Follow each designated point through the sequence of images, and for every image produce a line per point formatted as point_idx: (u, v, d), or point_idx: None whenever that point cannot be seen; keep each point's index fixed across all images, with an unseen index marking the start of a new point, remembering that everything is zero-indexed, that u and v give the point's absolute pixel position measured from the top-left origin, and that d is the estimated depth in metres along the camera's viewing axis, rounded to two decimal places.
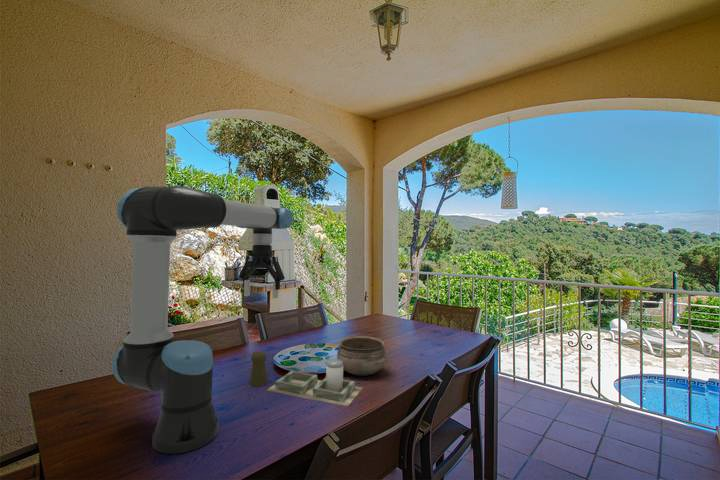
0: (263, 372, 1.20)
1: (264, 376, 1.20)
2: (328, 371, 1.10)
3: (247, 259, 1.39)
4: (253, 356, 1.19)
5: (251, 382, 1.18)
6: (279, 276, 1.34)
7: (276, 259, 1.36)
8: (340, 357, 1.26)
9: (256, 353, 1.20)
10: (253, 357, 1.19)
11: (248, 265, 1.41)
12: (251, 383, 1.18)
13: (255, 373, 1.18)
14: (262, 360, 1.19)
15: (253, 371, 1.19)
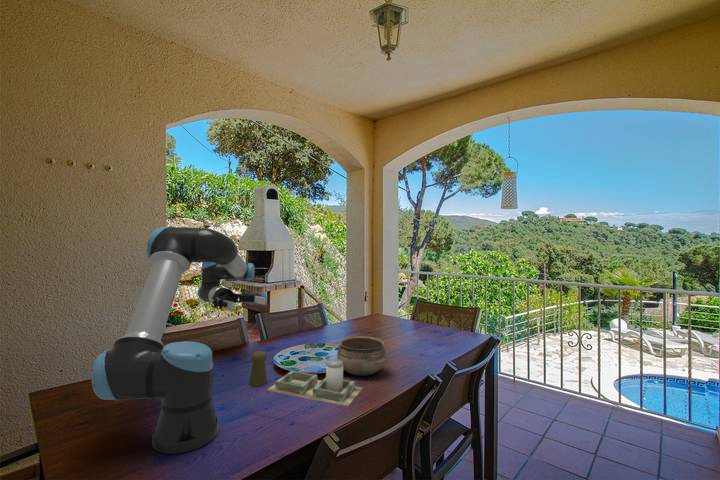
0: (263, 372, 1.20)
1: (264, 376, 1.20)
2: (328, 371, 1.10)
3: (214, 297, 1.35)
4: (253, 356, 1.19)
5: (251, 382, 1.18)
6: (257, 295, 1.43)
7: None
8: (340, 357, 1.26)
9: (256, 353, 1.20)
10: (253, 357, 1.19)
11: None
12: (251, 383, 1.18)
13: (255, 373, 1.18)
14: (262, 360, 1.19)
15: (253, 371, 1.19)
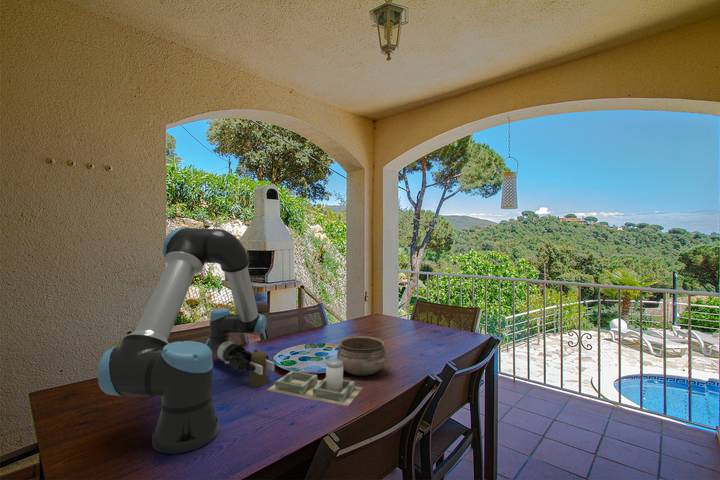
0: (263, 372, 1.20)
1: (264, 376, 1.20)
2: (328, 371, 1.10)
3: (228, 358, 1.23)
4: (253, 356, 1.19)
5: (251, 382, 1.18)
6: None
7: None
8: (340, 357, 1.26)
9: (256, 353, 1.20)
10: (253, 357, 1.19)
11: None
12: (251, 383, 1.18)
13: (255, 373, 1.18)
14: (262, 360, 1.19)
15: None
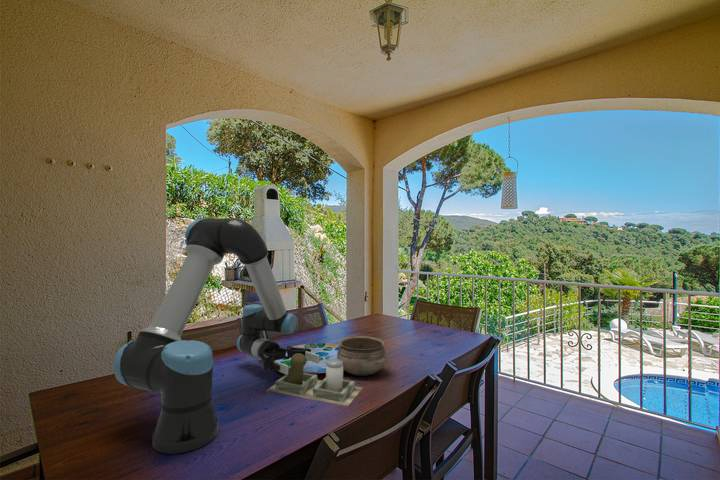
0: (302, 375, 1.14)
1: (302, 379, 1.15)
2: (328, 371, 1.10)
3: (262, 355, 1.19)
4: (294, 362, 1.11)
5: None
6: (307, 349, 1.27)
7: None
8: (340, 357, 1.26)
9: (297, 358, 1.12)
10: (294, 363, 1.11)
11: None
12: None
13: (294, 377, 1.12)
14: (303, 366, 1.12)
15: (292, 375, 1.12)
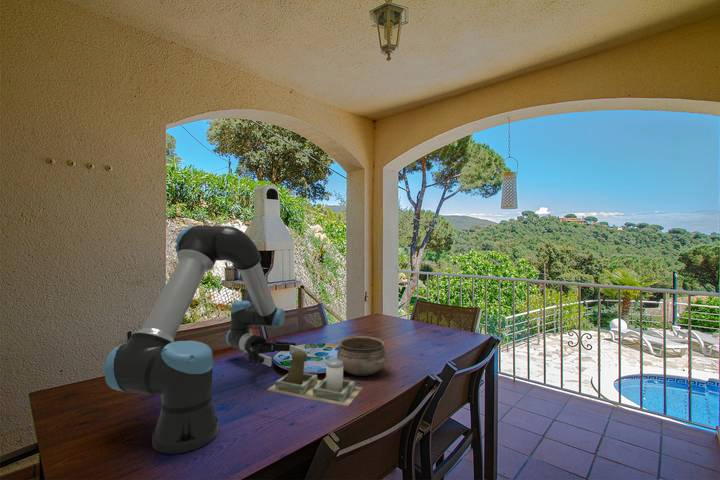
0: (303, 372, 1.17)
1: (302, 377, 1.17)
2: (328, 371, 1.10)
3: (248, 348, 1.26)
4: (297, 355, 1.15)
5: (291, 382, 1.14)
6: (291, 343, 1.34)
7: None
8: (340, 357, 1.26)
9: (299, 352, 1.16)
10: (297, 356, 1.15)
11: None
12: None
13: (296, 372, 1.14)
14: (305, 360, 1.16)
15: (294, 371, 1.14)
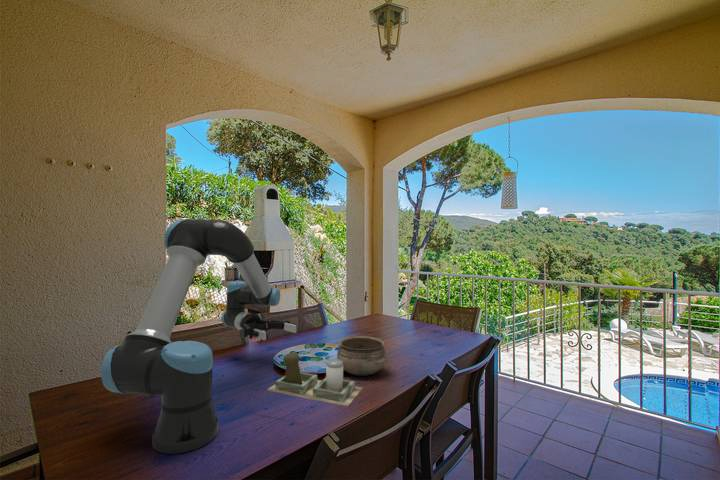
0: (299, 372, 1.16)
1: (300, 376, 1.16)
2: (328, 371, 1.10)
3: (243, 325, 1.29)
4: (289, 359, 1.13)
5: None
6: (286, 321, 1.36)
7: None
8: (340, 357, 1.26)
9: (291, 355, 1.14)
10: (290, 360, 1.13)
11: None
12: None
13: (293, 375, 1.13)
14: (298, 360, 1.15)
15: (291, 374, 1.13)
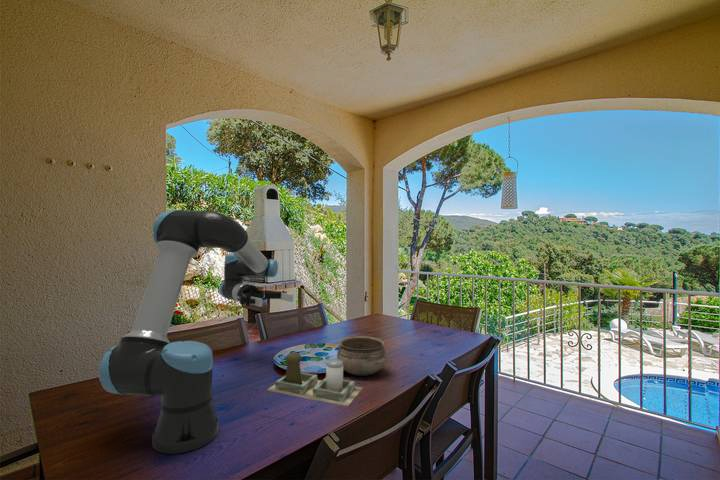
0: (300, 372, 1.16)
1: None
2: (328, 371, 1.10)
3: (240, 294, 1.30)
4: (292, 359, 1.14)
5: None
6: (283, 291, 1.37)
7: None
8: (340, 357, 1.26)
9: (293, 355, 1.15)
10: (292, 359, 1.13)
11: None
12: None
13: (294, 375, 1.14)
14: (300, 361, 1.16)
15: (292, 374, 1.14)
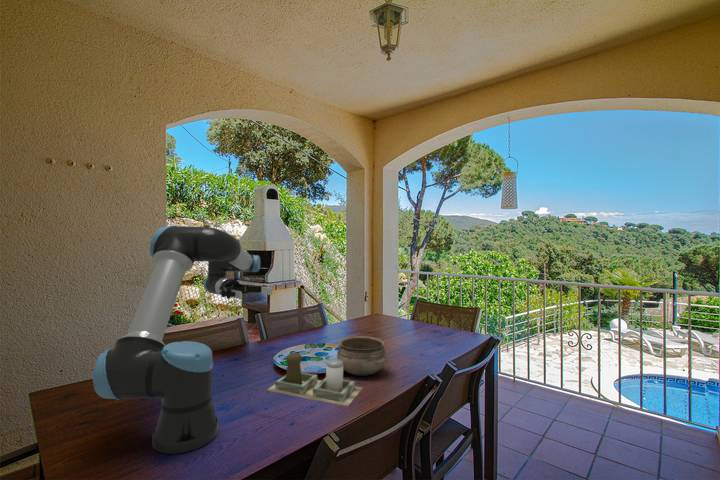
0: (300, 373, 1.16)
1: None
2: (328, 371, 1.10)
3: (222, 287, 1.37)
4: (292, 358, 1.14)
5: None
6: None
7: None
8: (340, 357, 1.26)
9: (293, 355, 1.15)
10: (293, 359, 1.14)
11: None
12: None
13: (295, 375, 1.14)
14: (300, 361, 1.16)
15: (293, 374, 1.14)
